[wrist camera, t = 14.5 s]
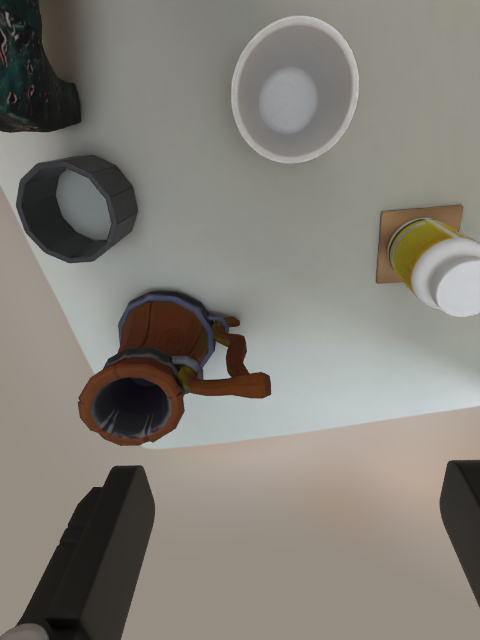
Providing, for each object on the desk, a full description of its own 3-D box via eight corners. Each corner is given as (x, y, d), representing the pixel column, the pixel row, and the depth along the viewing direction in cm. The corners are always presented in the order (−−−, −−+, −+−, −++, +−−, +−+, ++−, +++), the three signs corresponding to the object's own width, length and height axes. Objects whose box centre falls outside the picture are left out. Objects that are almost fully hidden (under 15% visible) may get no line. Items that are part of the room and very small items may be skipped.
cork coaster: (381, 211, 37) (382, 212, 37) (461, 204, 36) (463, 205, 36) (375, 282, 41) (376, 283, 40) (449, 277, 40) (451, 279, 39)
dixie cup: (354, 109, 33) (384, 104, 25) (278, 172, 36) (280, 189, 27) (299, 18, 31) (310, -23, 22) (221, 94, 34) (204, 85, 25)
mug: (259, 266, 41) (255, 336, 28) (279, 354, 46) (283, 449, 33) (107, 296, 44) (37, 372, 31) (141, 376, 49) (94, 471, 36)
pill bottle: (381, 276, 40) (418, 326, 30) (390, 216, 37) (433, 251, 27) (443, 275, 39) (500, 326, 30) (456, 215, 36) (524, 249, 27)
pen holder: (39, 160, 37) (1, 166, 32) (125, 151, 36) (100, 156, 31) (66, 247, 41) (36, 265, 36) (144, 241, 40) (125, 259, 35)
